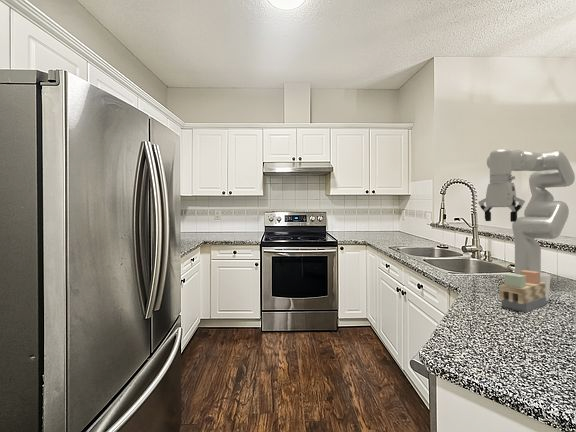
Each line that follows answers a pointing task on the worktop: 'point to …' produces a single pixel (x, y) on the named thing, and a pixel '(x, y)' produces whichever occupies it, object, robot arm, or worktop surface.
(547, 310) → the worktop surface
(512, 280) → the pale green block
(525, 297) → the long beige board
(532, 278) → the salmon square box
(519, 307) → the dock
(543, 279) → the white cup
